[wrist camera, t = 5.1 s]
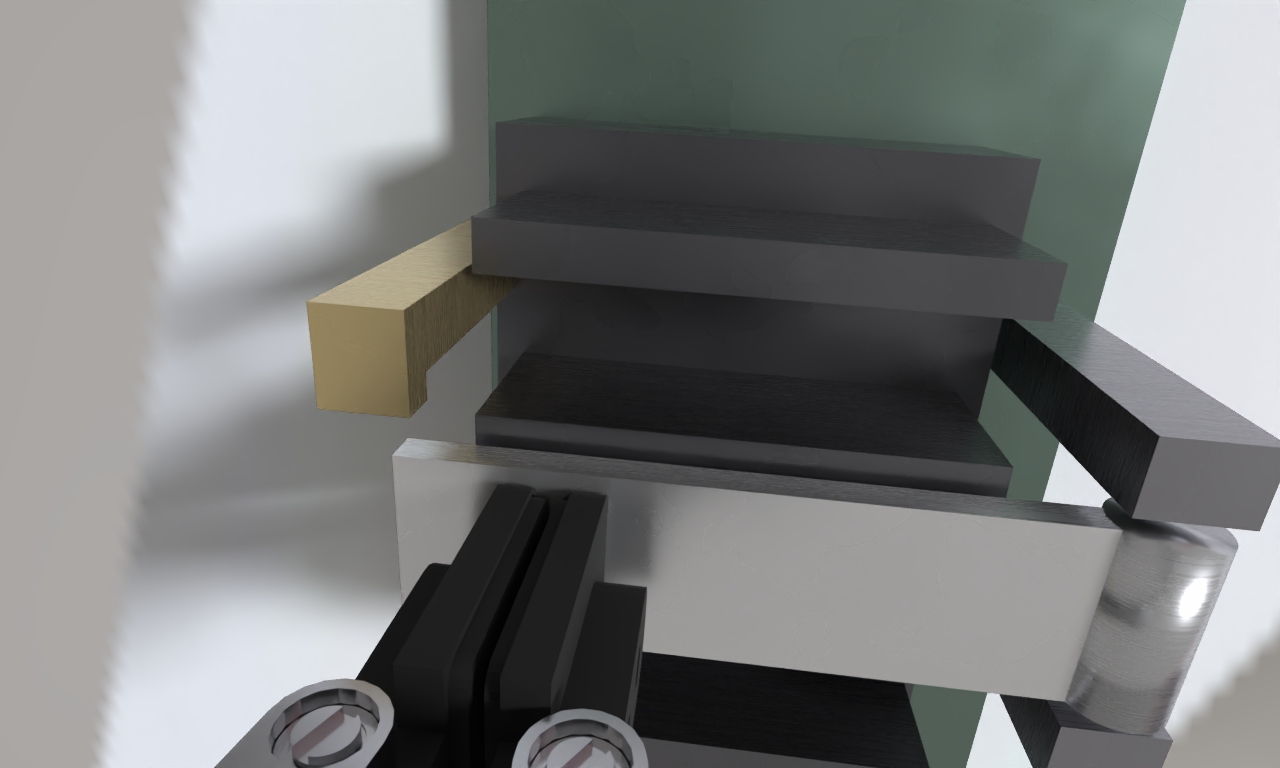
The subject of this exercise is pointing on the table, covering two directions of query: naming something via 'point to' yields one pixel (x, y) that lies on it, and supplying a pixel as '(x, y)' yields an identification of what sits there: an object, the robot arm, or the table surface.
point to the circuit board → (814, 300)
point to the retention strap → (865, 574)
